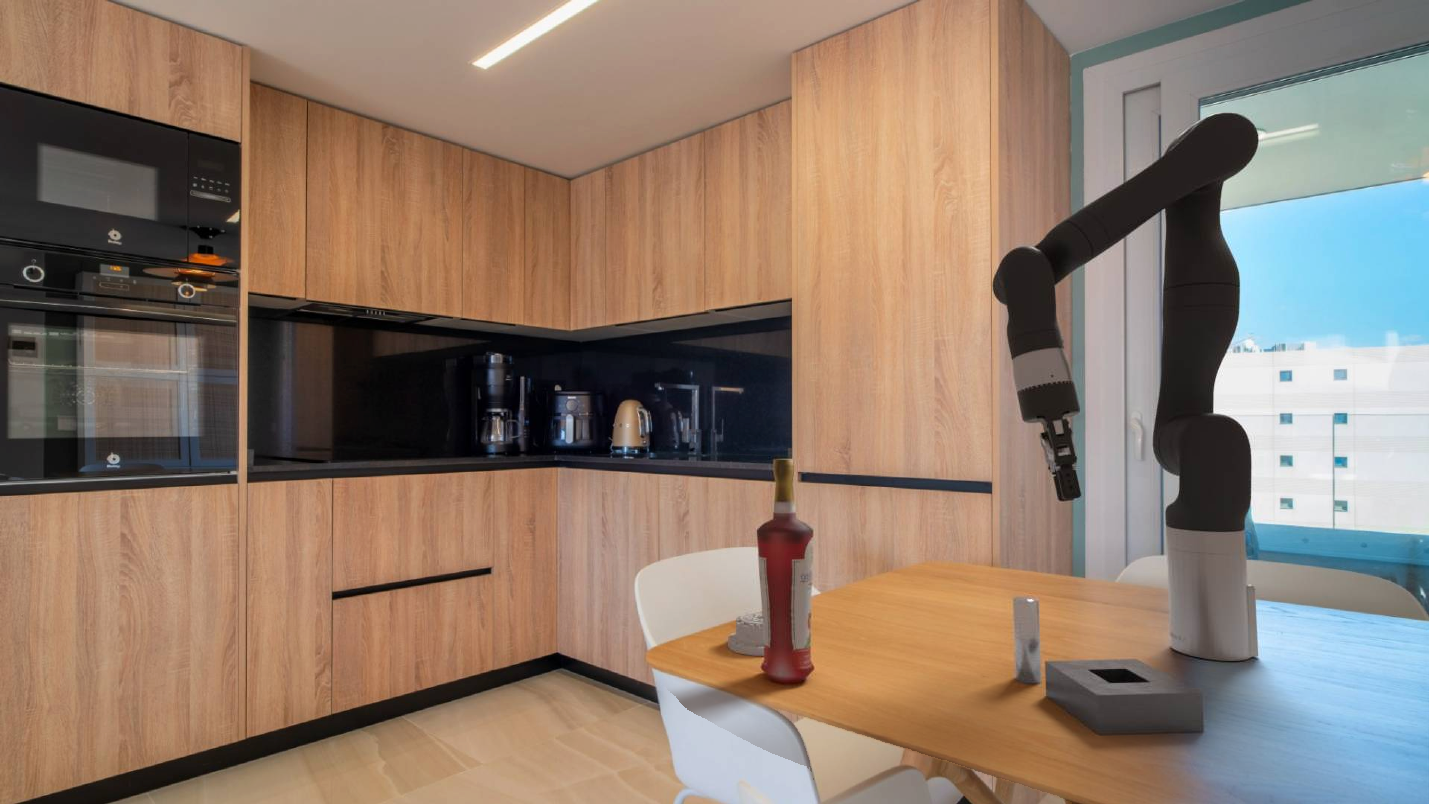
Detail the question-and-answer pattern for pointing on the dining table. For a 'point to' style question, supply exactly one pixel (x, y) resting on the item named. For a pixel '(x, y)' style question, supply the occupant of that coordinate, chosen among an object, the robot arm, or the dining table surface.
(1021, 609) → the steel pin
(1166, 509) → the robot arm
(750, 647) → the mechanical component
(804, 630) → the liquor
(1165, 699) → the square hole block
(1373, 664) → the dining table surface
